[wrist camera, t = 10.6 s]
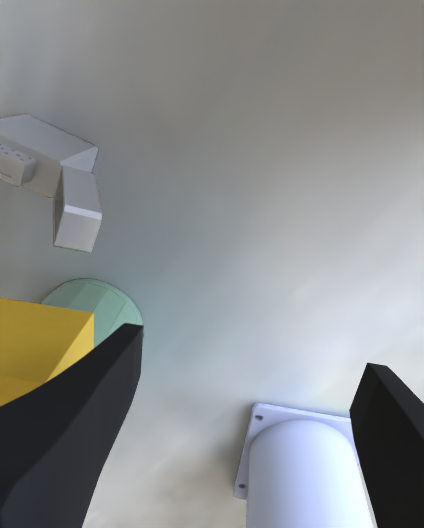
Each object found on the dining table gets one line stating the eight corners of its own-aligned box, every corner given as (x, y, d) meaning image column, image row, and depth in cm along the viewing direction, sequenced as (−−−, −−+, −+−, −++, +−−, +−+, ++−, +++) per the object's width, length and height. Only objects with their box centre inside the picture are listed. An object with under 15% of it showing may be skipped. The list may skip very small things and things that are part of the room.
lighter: (16, 144, 21) (-108, 179, 14) (23, 112, 20) (-105, 131, 13) (140, 200, 22) (84, 261, 14) (151, 171, 21) (97, 221, 14)
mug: (74, 258, 24) (20, 312, 18) (163, 319, 25) (138, 386, 19) (13, 350, 27) (-48, 418, 22) (94, 399, 28) (56, 475, 23)
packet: (94, 463, 22) (57, 552, 18) (14, 449, 22) (-41, 533, 18) (94, 312, 18) (45, 383, 14) (-6, 296, 18) (-84, 361, 14)
